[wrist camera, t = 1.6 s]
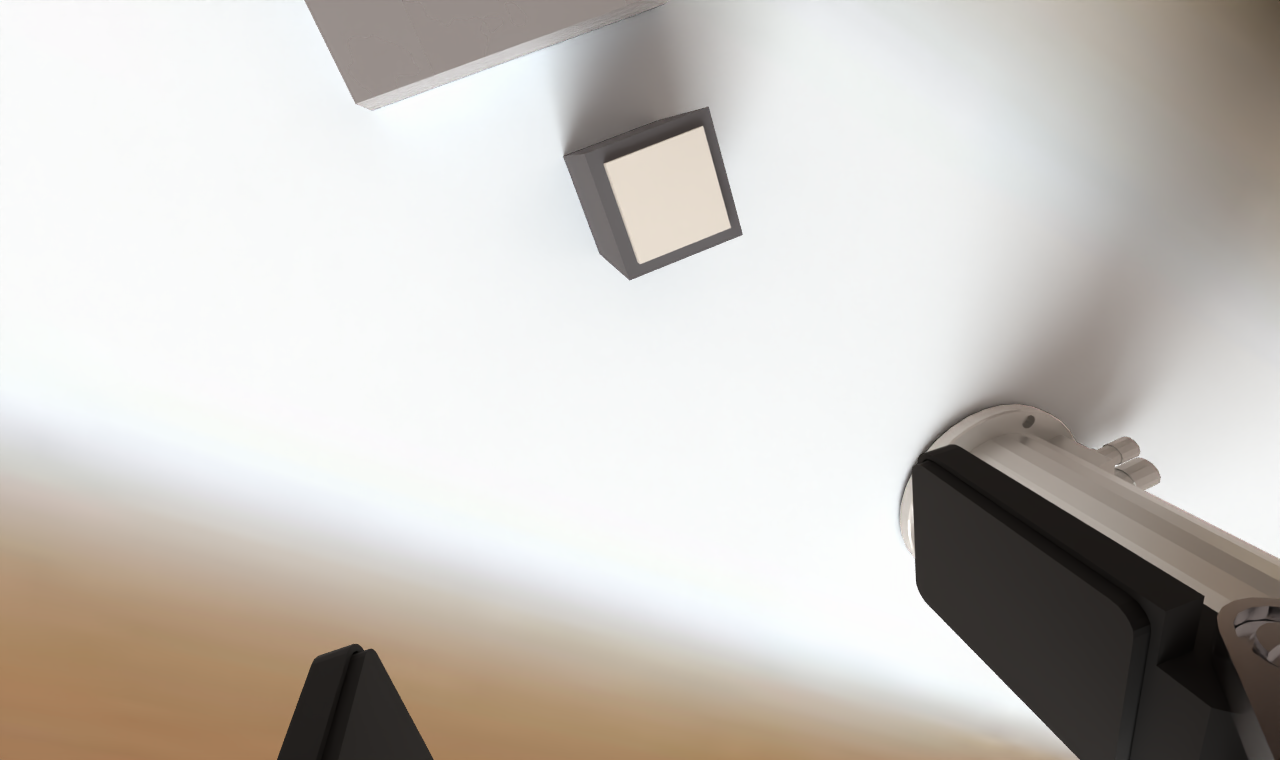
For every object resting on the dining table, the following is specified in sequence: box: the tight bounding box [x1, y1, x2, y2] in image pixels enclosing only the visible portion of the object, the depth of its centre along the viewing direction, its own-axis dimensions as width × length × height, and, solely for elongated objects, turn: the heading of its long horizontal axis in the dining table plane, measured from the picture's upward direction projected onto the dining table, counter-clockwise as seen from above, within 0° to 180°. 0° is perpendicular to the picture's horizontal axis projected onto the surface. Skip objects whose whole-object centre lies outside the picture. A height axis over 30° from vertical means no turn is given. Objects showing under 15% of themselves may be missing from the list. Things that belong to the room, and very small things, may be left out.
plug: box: [563, 107, 743, 280], centre depth 24 cm, size 5×5×7 cm
